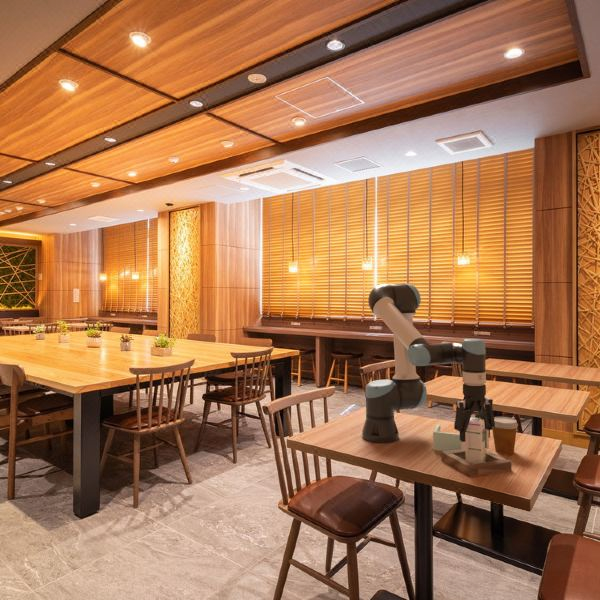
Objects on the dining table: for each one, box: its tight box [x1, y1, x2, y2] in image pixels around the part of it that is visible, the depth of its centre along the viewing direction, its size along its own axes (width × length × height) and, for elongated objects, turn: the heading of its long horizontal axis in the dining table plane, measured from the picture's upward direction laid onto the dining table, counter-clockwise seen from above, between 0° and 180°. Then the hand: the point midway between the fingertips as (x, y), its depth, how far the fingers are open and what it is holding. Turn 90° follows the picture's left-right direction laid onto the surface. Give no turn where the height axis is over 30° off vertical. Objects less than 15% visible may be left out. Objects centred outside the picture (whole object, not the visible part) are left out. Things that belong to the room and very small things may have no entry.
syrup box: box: [465, 416, 487, 464], centre depth 152 cm, size 6×6×14 cm
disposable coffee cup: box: [491, 416, 519, 456], centre depth 165 cm, size 10×10×12 cm
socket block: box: [441, 449, 513, 478], centre depth 152 cm, size 16×16×3 cm
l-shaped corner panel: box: [432, 423, 461, 452], centre depth 171 cm, size 12×12×8 cm
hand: (475, 448), depth 153 cm, fingers closed on syrup box, 8 cm apart
